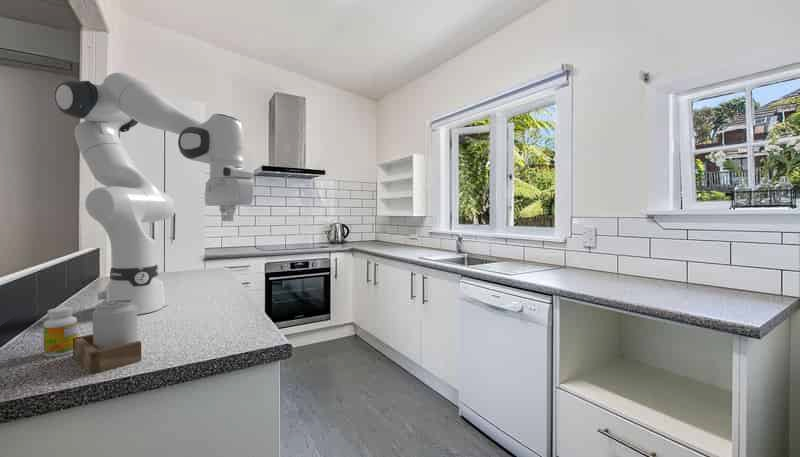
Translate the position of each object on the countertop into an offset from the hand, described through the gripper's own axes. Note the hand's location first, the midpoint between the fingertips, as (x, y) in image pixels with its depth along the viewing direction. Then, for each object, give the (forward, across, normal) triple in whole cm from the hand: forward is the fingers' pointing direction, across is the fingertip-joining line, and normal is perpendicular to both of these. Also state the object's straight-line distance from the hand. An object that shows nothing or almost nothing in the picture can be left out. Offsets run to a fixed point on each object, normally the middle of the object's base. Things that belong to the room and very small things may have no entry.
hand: (227, 221), depth 100 cm
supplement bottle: (+29, -7, -34) cm, 45 cm away
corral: (+29, +5, -29) cm, 41 cm away
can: (+29, +5, -27) cm, 41 cm away
